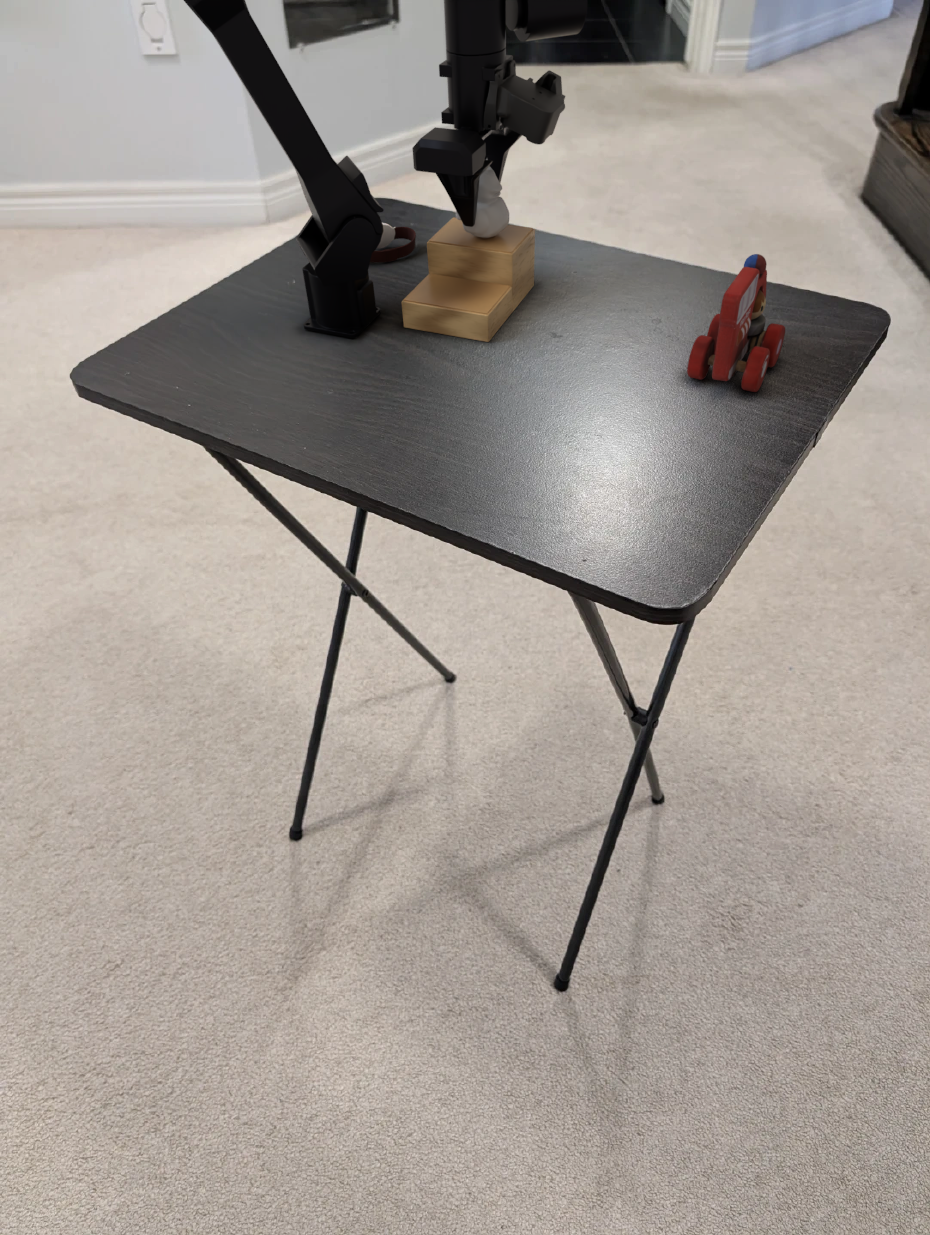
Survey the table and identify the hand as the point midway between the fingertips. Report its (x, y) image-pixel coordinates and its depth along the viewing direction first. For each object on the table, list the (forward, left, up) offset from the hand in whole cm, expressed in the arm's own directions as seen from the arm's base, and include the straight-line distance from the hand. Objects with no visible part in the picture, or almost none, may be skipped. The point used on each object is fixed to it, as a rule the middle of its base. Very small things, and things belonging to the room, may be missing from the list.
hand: (479, 215), depth 96 cm
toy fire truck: (+30, -7, -9) cm, 32 cm away
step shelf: (0, -3, -9) cm, 9 cm away
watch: (-15, +6, -9) cm, 18 cm away
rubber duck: (0, 0, -2) cm, 2 cm away
